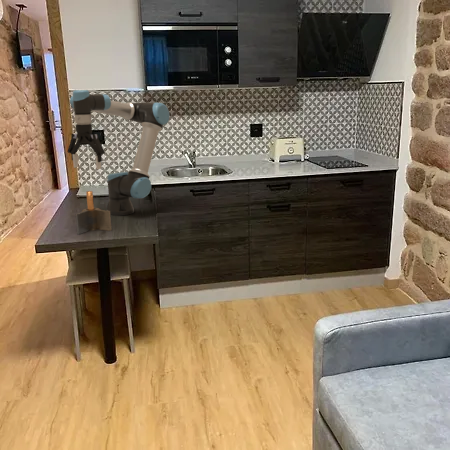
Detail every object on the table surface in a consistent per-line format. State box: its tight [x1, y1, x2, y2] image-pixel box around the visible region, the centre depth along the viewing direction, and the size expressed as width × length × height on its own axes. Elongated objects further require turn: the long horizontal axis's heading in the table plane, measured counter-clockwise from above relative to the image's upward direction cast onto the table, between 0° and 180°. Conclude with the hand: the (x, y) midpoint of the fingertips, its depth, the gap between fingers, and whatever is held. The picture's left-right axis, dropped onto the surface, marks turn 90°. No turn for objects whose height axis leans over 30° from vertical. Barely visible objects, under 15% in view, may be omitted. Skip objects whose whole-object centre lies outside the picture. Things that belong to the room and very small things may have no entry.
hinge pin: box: [85, 190, 95, 211], centre depth 236 cm, size 3×3×19 cm
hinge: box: [75, 207, 112, 235], centre depth 232 cm, size 14×14×10 cm
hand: (87, 168), depth 230 cm, fingers open, 13 cm apart
